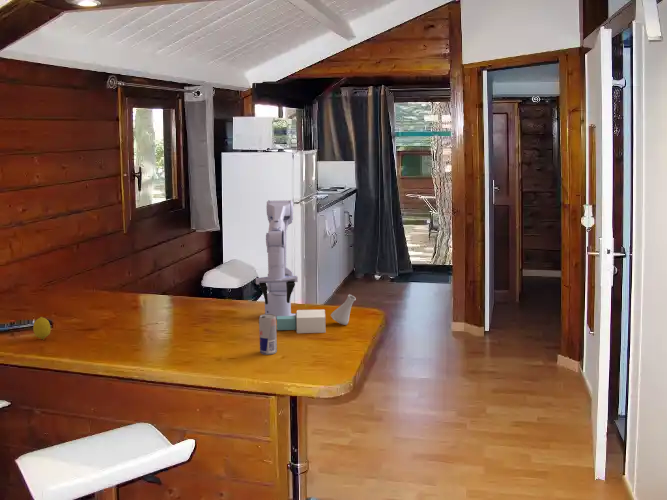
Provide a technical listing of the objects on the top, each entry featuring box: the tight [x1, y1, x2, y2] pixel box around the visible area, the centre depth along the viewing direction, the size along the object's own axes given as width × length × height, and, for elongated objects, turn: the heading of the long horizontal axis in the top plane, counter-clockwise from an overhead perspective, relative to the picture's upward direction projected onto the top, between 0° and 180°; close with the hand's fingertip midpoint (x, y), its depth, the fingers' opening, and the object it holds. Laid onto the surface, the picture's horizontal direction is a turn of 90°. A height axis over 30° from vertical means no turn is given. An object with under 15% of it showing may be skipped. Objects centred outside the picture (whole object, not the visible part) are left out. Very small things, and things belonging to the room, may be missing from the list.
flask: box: [330, 294, 357, 326], centre depth 270 cm, size 7×7×10 cm
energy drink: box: [258, 313, 278, 356], centre depth 239 cm, size 5×5×12 cm
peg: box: [276, 315, 296, 331], centre depth 266 cm, size 8×4×4 cm, turn 92°
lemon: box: [32, 316, 51, 340], centre depth 257 cm, size 6×6×8 cm
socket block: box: [295, 309, 327, 334], centre depth 267 cm, size 10×11×6 cm
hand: (277, 302), depth 265 cm, fingers open, 7 cm apart
